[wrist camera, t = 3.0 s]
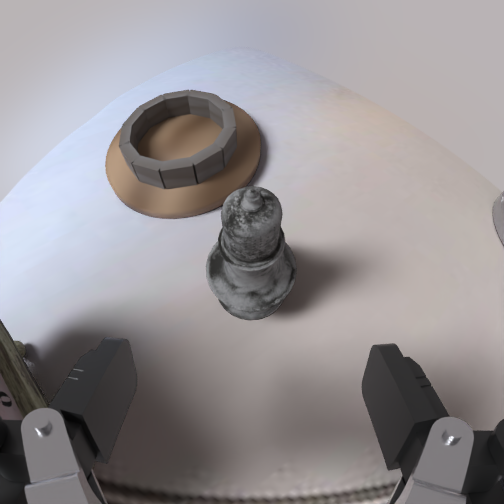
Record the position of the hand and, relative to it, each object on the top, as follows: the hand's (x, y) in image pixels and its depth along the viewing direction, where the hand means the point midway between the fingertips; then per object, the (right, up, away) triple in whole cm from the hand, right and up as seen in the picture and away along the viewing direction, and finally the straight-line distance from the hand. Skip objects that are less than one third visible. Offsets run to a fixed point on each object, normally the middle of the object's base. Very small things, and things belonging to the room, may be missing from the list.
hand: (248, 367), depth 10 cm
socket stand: (-7, +13, +20) cm, 25 cm away
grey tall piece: (0, +1, +14) cm, 15 cm away
